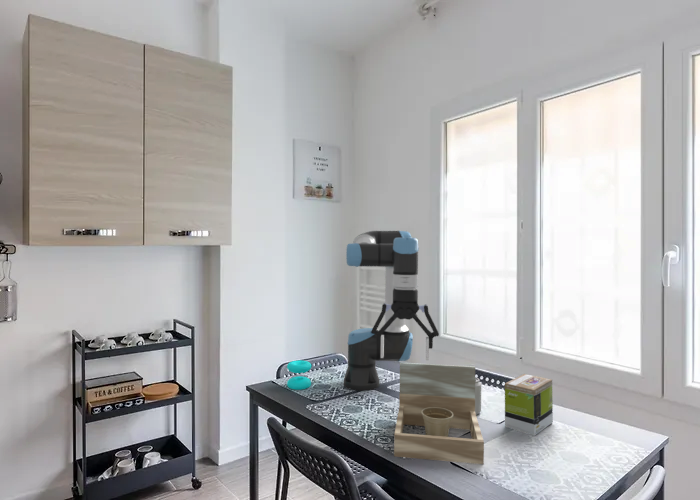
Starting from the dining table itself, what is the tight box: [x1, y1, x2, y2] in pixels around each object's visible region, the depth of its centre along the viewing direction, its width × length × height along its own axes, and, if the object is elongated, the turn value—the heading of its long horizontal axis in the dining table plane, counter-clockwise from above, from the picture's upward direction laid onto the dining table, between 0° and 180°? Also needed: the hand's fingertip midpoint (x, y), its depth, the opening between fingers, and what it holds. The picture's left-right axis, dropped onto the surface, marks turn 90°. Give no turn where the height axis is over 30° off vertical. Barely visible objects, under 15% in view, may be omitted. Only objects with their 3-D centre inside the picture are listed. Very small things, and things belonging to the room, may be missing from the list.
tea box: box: [504, 373, 554, 436], centre depth 145 cm, size 15×10×15 cm, turn 135°
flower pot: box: [421, 407, 453, 437], centre depth 132 cm, size 9×9×9 cm
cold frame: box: [393, 362, 485, 465], centre depth 132 cm, size 24×24×20 cm
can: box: [475, 376, 482, 416], centre depth 156 cm, size 8×8×12 cm
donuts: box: [286, 359, 312, 391], centre depth 182 cm, size 10×10×10 cm
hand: (404, 358), depth 134 cm, fingers open, 13 cm apart
